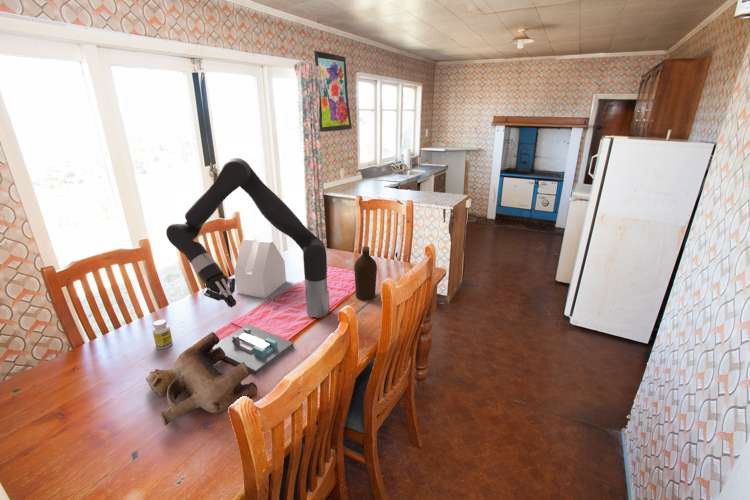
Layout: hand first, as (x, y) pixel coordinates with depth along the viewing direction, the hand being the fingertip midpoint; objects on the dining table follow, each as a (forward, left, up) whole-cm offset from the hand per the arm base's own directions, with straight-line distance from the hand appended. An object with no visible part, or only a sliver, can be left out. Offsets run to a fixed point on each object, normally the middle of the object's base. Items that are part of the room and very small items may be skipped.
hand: (233, 305), depth 131 cm
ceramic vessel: (+25, +12, -16) cm, 32 cm away
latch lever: (+1, +3, -11) cm, 12 cm away
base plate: (+1, +8, -15) cm, 18 cm away
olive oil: (-56, +22, -16) cm, 62 cm away
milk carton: (-37, -27, -16) cm, 48 cm away
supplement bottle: (+16, -22, -16) cm, 31 cm away
